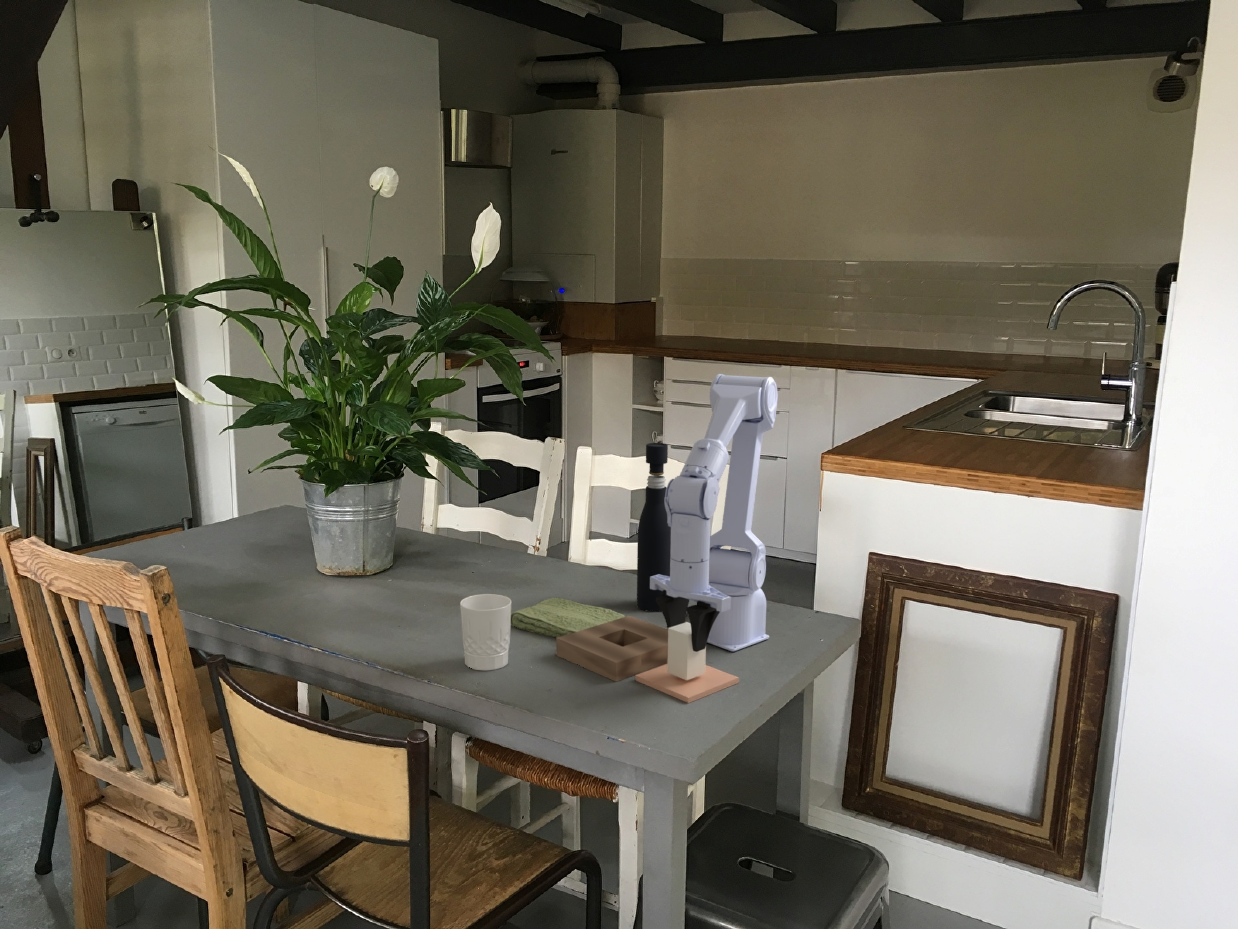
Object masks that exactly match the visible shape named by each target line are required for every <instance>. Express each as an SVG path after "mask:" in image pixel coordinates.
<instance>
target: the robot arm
mask: <svg viewBox="0 0 1238 929" xmlns="http://www.w3.org/2000/svg"><path fill="white" fill-rule="evenodd" d="M778 393H779V392H778V386H777V382H776V381H775V380H774V378H773V377H772V376H766V377H765V376H764V377H763V376H762V377H760V376H745V375H730V374H729V375H727V374H726V375H725V374H723V373H718V374H717V375H715V377H714V378H713V379H712V382H711V384H710V388H709V403H710V406H711V407H710V408H711V412H712V414H711V417H710V420H709V422H708V426H707V429H706V432H705V435H704V437H703V438H701V439H699V440H697V441H695V442H694V444H693V446H692V448H691V450H690V453H689V455H688V456H687V459H686V461H685V463H684V465H683V466H682V470H681V471H680V474H679V475H676V476H675V477H674V478H671V479H670V480H669V481H668V483H667V485H666V493H665V499H664V500H665V509H666V512H667V516H668V522H667V523H668V526H670V527H671V553H670V577H669V576H664V575H660V574H658V575H654V576H651V577H650V589H653V590H657V589H658V590H661V591H663V594H662V596H659V597H657V598H656V603H657V604H658V606H659V607H660V609H661V611H660V612H661V613H662V615H663V618H664V621H665V624H666V629H668V628H670V627H673V626H676V625H679V624H682V623H685V622H686V617H687V615H688V618H689V623H690V624H691V632H692V648H693V651H695V652H698V651H700V650H703V649H705V647H706V648H707V643H708V644H710V645H713V646H716V647H719V648H722V649H725V650H726V651H727V650H728V651H730V652H736V651H738V650H742V649H745V648H746V647H750V646H751V645H755V644H758V643H761V642H763V641H765V640H768V639H770V635H769V634H766V625H767V624H766V623H767V619H766V618H767V598H766V595H765V593H764V591H763V589H762V586H763V584H764V582H765V577H766V574H767V572H766V571H767V562H766V554H767V551H766V546H765V544H764V542H762V541H761V540H760V539H759V538H758V537H757V536H756V535H755V534H754V533H753V532H752V526H753V518H754V511H755V510H754V509H755V500H756V492H757V491H756V490H757V484H758V476H759V475H758V474H759V468H760V459H761V450H762V444H763V440H764V439H763V438H764V435H765V433H767V431H770V430H772V429H773V428H774V424H775V422H776V416H777V415H776V414H777V407H778V398H779V396H778V395H779V394H778ZM731 440H732V441H731ZM730 442H732V443H731V451H730V454H729V451H728V449H727V447H728V445H729V443H730ZM728 462H729V466H728V474H727V481H726V482H727V483H726V491H725V498H724V506H723V507H724V508H723V515H722V523H721V529H720V530H718V531H716V532H715V533H713V534H711V519H712V517H713V515H714V513H715V512H716V509H717V505H718V498H719V493H720V484H719V483H720V481H721V478H722V476H723V474H724V472H725V469H726V467H727V464H728ZM722 547H733V548H741V549H746V550H748V551H743V550H736V549H727V548H722ZM690 601H693V602H694V603H695V602H696V604H694V605H693V604H692V605H690V606H689V603H690Z"/></svg>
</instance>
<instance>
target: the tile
mask: <svg viewBox="0 0 1238 929" xmlns="http://www.w3.org/2000/svg"><path fill="white" fill-rule="evenodd" d="M667 669H668V663H667V664H664V665H661V666H659V667H656V668H653V669H650V670H647V671H645V672H642V673H639V674H636V675H634V680H635V682H638V683H641V684H643V685H645V686H648V687H650V688H652V689H655V690H658V691H659V692H661V693H664V694H666V695H669V696H671V697H674V698H676V699H678V700H679V701H683V702H685V703H687V704H690V703H692V702H695V701H697V700H700V699H702V698H705V697H706V696H710V695H712V694H714V693H717V692H720V691H722V690H724V689H727V688H729V687H732V686H734V685H736V684H737V685H738V684H739V683H740V677H738V676H736V675H734V674H731V673H727V672H725V671H723V670H720V669H717V668H715V667H713V666H709V665H707V664H705V674H702V675H700V676H697V677H694V678H692V679H689V680H685V679H682V678H680V677H677V676H675V675H672V674H670V673H667Z"/></svg>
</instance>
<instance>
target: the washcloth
mask: <svg viewBox="0 0 1238 929" xmlns="http://www.w3.org/2000/svg"><path fill="white" fill-rule="evenodd" d="M623 617H626V616H625V615H624V614H622V613H619V612H616V611H615V610H612V609H609V608H605V607H600V606H593V605H590V604H582V603H579V602H576V601H573V600H570V599H565V598H564V599H563V598H561V597H555V598H554V597H550V598H547V599H543V600H542V601H540V602H538V603H535V604H534V605H533V606H528V607H527V606H526V607H524V608H521V609H518V610H516V611H514V612H511V627H514V626H515V627H514V628H516V627H517V629H521V630H524V631H526V630H528V631H527V632H529V633H530V632H531V633H535V632H536V633H537V634H538V633H541V634H540V635H542V634H544V635H543V636H547V635H548V636H547V637H552V636H553V638H558V637H561V636H564V635H568V634H571V633H574V632H577V631H581V630H584V629H587V628H590V627H594V626H597V625H600V624H604V623H607V622H610V621H613V620H617V619H620V618H623Z"/></svg>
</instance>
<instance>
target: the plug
mask: <svg viewBox="0 0 1238 929" xmlns="http://www.w3.org/2000/svg"><path fill="white" fill-rule="evenodd" d="M667 629H668V663H667V664H668V669H667V673H670V674H672V675H675V676H677V677H680V678H682V679H685V680H689V679H692V678H694V677H697V676H700V675H702V674H705V665H707V664H706V660H707V659H706V658H707V657H706V656H707V646H706V647H705V649H703V650H700V651H698V652H695V651H693V648H692V632H691V624H690V622H688V621H685V623H682V624H679V625H676V626H673V627H670V628H667Z"/></svg>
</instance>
